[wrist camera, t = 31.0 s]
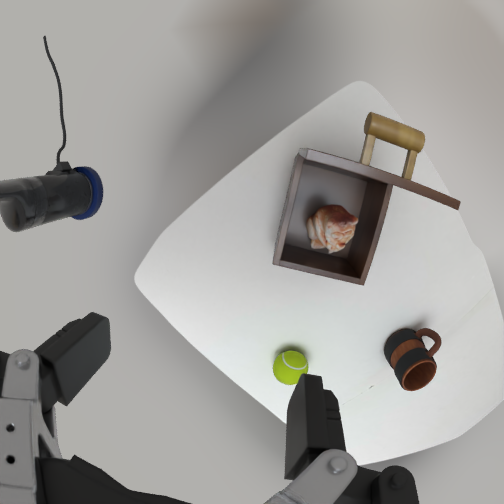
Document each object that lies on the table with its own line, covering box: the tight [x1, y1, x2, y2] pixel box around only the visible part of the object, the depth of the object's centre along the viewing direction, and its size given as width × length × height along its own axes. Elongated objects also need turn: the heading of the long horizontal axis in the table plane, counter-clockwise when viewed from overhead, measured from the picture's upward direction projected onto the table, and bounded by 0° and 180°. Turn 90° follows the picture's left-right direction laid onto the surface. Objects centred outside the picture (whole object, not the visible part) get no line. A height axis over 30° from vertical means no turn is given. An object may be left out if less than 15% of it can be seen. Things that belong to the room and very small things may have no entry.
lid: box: [299, 112, 460, 210], centre depth 26 cm, size 17×14×5 cm
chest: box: [273, 153, 393, 285], centre depth 42 cm, size 16×14×11 cm
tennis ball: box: [273, 351, 308, 385], centre depth 52 cm, size 7×7×7 cm
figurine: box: [306, 204, 358, 253], centre depth 40 cm, size 6×8×15 cm
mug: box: [384, 328, 441, 391], centre depth 46 cm, size 9×12×12 cm
